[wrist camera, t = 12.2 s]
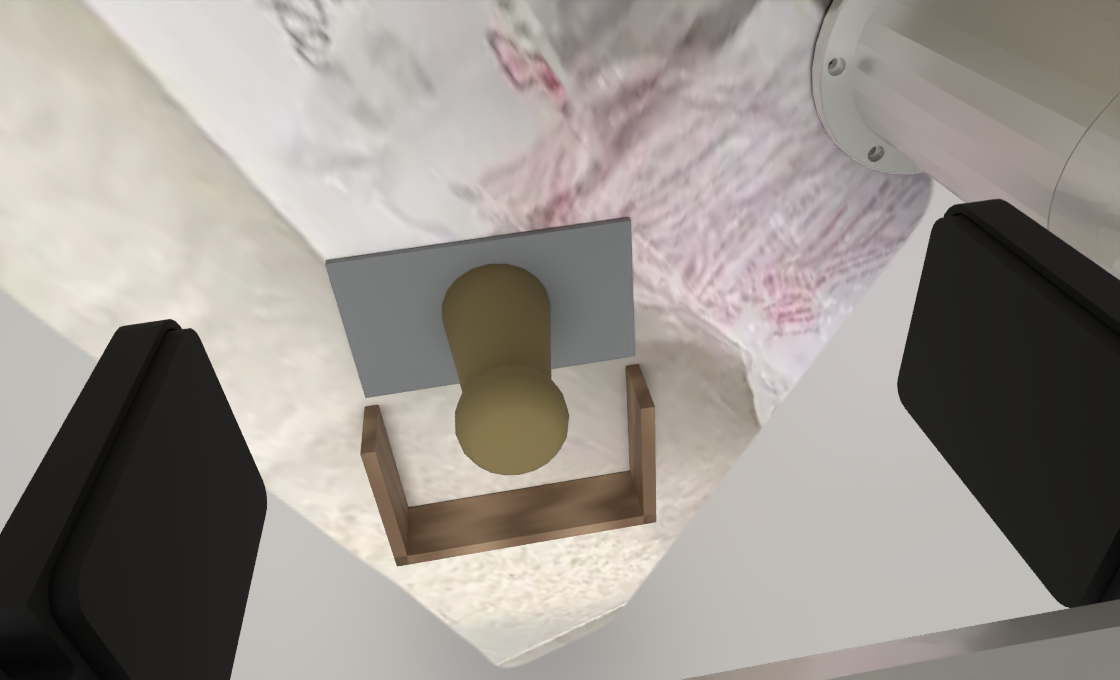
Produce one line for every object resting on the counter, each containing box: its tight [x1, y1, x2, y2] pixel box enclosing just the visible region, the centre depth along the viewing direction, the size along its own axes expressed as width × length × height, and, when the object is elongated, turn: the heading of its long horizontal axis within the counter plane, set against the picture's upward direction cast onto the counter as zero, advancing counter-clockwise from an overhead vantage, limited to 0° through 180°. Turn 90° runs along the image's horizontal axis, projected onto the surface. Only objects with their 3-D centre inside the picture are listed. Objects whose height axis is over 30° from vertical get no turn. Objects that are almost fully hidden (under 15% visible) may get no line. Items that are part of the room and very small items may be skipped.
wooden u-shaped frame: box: [360, 365, 656, 566], centre depth 47 cm, size 17×10×4 cm, turn 95°
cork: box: [442, 264, 569, 475], centre depth 38 cm, size 6×6×11 cm
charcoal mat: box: [325, 217, 635, 398], centre depth 43 cm, size 16×9×1 cm, turn 95°
